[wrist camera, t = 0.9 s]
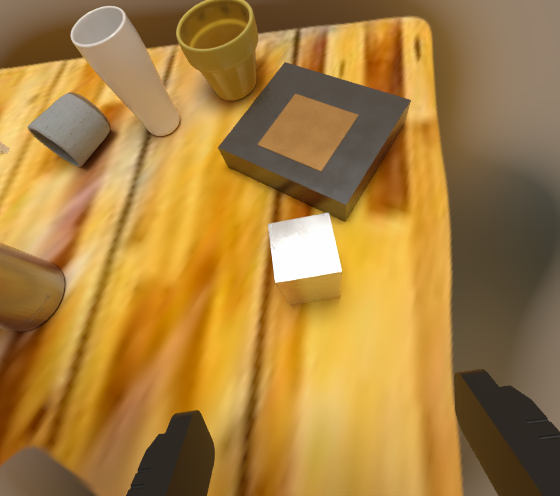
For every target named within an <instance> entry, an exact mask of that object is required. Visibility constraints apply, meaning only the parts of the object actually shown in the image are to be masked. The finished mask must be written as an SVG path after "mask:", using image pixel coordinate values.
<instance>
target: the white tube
mask: <svg viewBox="0 0 560 496" xmlns="http://www.w3.org/2000/svg"><path fill="white" fill-rule="evenodd" d="M71 40H72V42H73V43H74V45H75V46H76V47H77V49H78V50H79V51H80V52H81V54H82V56H83V57H84V58H85V59H86V61H87V62H88V63H89V65H90V66H91V67H92V68H93V70H94V71H95V72H96V73H97V74H98V75H99V77H100V78H101V79H102V80H103V81H104V82H105V83H106V84H107V85H108V87H109V88H110V89H111V90H112V91H113V92H114V93H115V94H116V95H117V96H118V97H119V98H120V99H121V100H122V102H123V103H124V104H125V105H126V106H127V107H128V108H129V109H130V110H131V111H132V112H133V113H134V115H135V116H136V117H137V118H138V119H139V120H140V121H141V122H142V123H143V125H144V126H145V127H146V129H147V130H148V131H149V132H150V133H151V134H153V135H155V136H165V135H168V134H170V133H172V132H173V131H174V130H175V129H176V128H177V127H178V125H179V122H180V116H179V113H178V111H177V109H176V108H175V106H174V104H173V102H172V100H171V98H170V96H169V94H168V92H167V90H166V88H165V86H164V84H163V82H162V80H161V78H160V76H159V74H158V72H157V70H156V68H155V66H154V64H153V62H152V59H151V57H150V55H149V53H148V51H147V49H146V47H145V46H144V44H143V42H142V40H141V38H140V37H139V35H138V33H137V31H136V30H135V28H134V27H133V25H132V23H131V22H130V20H129V19H128V17H127V16H126V14H125V12H124V11H123V10H122V9H120V8H118V7H114V6H106V7H101V8H97V9H95V10H93V11H91V12H89V13H87V14H86V15H84V16H83V17H82V18H80V19H79V20H78V21H77V23H76V24H75V25H74V27H73V29H72V31H71Z"/></svg>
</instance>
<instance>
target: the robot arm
mask: <svg viewBox="0 0 560 496" xmlns="http://www.w3.org/2000/svg"><path fill="white" fill-rule="evenodd" d="M64 286H65V282H64V276H63V273H62V271H61V270H60V269H59V267H57V266H56V265H55V264H53V263H50V262H48V261H45V260H43V259H40V258H38V257H35V256H32V255H30V254H27V253H25V252H23V251H20V250H18V249H15V248H12V247H10V246H7V245H5V244H2V243H0V329H2V330H9V331H17V332H23V331H28V330H32V329H34V328H36V327H38V326H40V325H41V324H42V323H44V322H45V321H46V320H48V318H49V317H50V316H51V315H52V314H53V313H54V312H55V310H56V309H57V307H58V305H59V303H60V301H61V299H62V296H63V293H64ZM454 387H455V411H456V416H457V419H458V422H459V425H460V427H461V430H462V432H463V433H464V435H465V437H466V439H467V441H468V442H469V444H470V446H471V448H472V450H473V451H474V453H475V455H476V457H477V458H478V460H479V461H480V464H481V466H482V467H483V469H484V471H485V473H486V474H487V476H488V478H489V480H490V482H491V483H492V485H493V487H494V489H495V490H496V492H497V494H498V495H499V496H560V432H559V431H558V429H557V428H556V427H555V426H554V425H553V424H552V423H551V422H549V421H548V419H547V417H546V416H545V415H544V414H543V412H542V411H541V410H540V409H539V408H538V407H537V406H536V404H535V403H534V402H533V401H532V400H531V399H529V398H528V397H526V396H525V395H524V394H522V393H521V392H519V391H518V390H516V389H515V388H513V387H512V386H503V387H499V386H498V385H497V384H496V383H495V381H494V380H493V379H492V378H491V376H490V375H489V374H488V373H487V372H486V371H485V370H484V369H478V370H471V371H464V372H457V373H455V375H454ZM214 459H215V449H214V443H213V440H212V438H211V435H210V433H209V431H208V429H207V426H206V424H205V422H204V419H203V417H202V415H201V413H200V411H198V410H196V411H189V412H182V413H176V414H174V415H173V416H172V418H171V420H170V423H169V425H168V428H167V430H166V433H165V434H159V435H158V436H157V437H156V439H155V440H154V441H153V442H152V444H151V445H150V446H149V448H148V449H147V450H146V452H145V454H144V456H143V458H142V461H141V463H140V465H139V468H138V473H137V474H135V477H134V479H133V481H132V484H131V489H130V490H128V493H127V495H126V496H207V493H208V488H209V484H210V479H211V475H212V470H213V466H214Z"/></svg>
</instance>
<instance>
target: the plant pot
mask: <svg viewBox="0 0 560 496" xmlns="http://www.w3.org/2000/svg"><path fill="white" fill-rule="evenodd" d="M176 35H177V40H178V42H179V44H180V46H181V49H182V51H183V52H184V54H185V56H186V58H187V60H188V61H189V63H190V64H191V65H192V66H193V67H194V68H195V69H197V70H199V71H200V72H201V73H202V75H203V76H204V77H205V79H206V80H207V81H208V83H209V84H210V85H211V87H212V88H213V89H214V91H215V92H216V93H217V95H218V96H219V97H220V98H222V99H224V100H227V101H235V100H239V99H242V98H244V97H246V96H247V95H248V94H250V93H251V92H252V90H253V89H254V87H255V85H256V57H255V49H256V47H257V43H258V33H257V27H256V22H255V18H254V14H253V11H252V9H251V7H250V5H249V4H248V3H247V2H246V1H244V0H206V1H203V2H201V3H199V4H197V5H196V6H194V7H193V8H191V9H190V10H189V11H188V12H187V13H186V14H185V15H184V16H183V17H182V18H181V20H180V22H179V24H178V27H177V31H176Z"/></svg>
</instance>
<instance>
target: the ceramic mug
mask: <svg viewBox="0 0 560 496" xmlns="http://www.w3.org/2000/svg"><path fill="white" fill-rule="evenodd" d="M28 129H29V131H30V132H31V133H32V135H33V136H34V137H36V138H37V139H38V140H39V141H40V142H41V143H43V144H44V145H45V146H46V147H48V148H49V149H50V150H52V151H53V152H55V153H56V154H57V155H59V156H60V157H62V158H63V159H65V160H66V161H68V162H70V163H71V164H73V165H76V166H78V167H81V166H82V165H83V164H84V163H85V162H86V160H87V159H88V158H89V157H90V156H91V155H92V153H93V152H94V151H95V150H96V148H97V147H98V146H99V145H100V144H101V143H102V141H103V140H104V139H105V138H106V137H107V135H108V133H109V132H110V129H111V127H110V123H109V121H108V119H107V118H106V117H105V115H104V114H103V113H102V112H101V111H100V110H99V109H98V108H97V107H96V106H95V105H94V104H93V103H91V102H90V101H89V100H87V99H86V98H84V97H82V96H81V95H79V94H76V93H68V94H65V95H63V96H62V97H60V98H59V99H58V100H57V101H55V102H54V103H53V104H52V105H51V106H50V107H49V108H48V109H47V110H46V111H44V112H43V113H42V114H41V115H40V116H39V117H38V118H36V119H35V120H34V121H33V122H32V123H31V124H30V125H29V126H28Z"/></svg>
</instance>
